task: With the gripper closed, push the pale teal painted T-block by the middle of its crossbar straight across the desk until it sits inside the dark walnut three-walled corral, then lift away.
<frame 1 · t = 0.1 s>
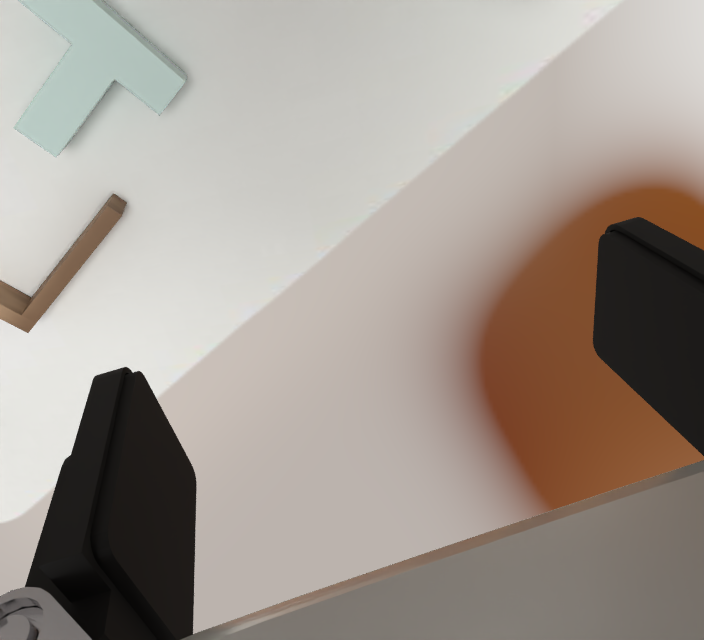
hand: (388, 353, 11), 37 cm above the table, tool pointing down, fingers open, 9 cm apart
tee block: (114, 39, 38), on the table
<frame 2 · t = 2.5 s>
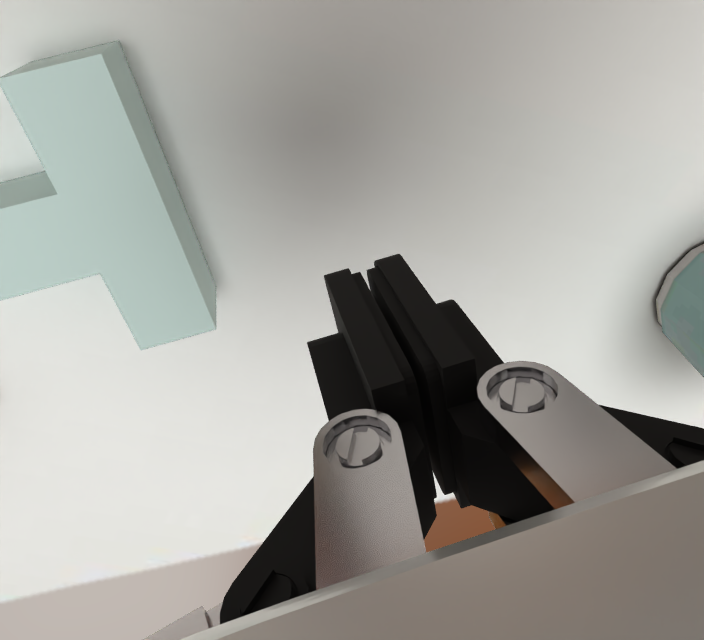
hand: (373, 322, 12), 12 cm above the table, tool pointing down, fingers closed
tee block: (136, 189, 21), on the table
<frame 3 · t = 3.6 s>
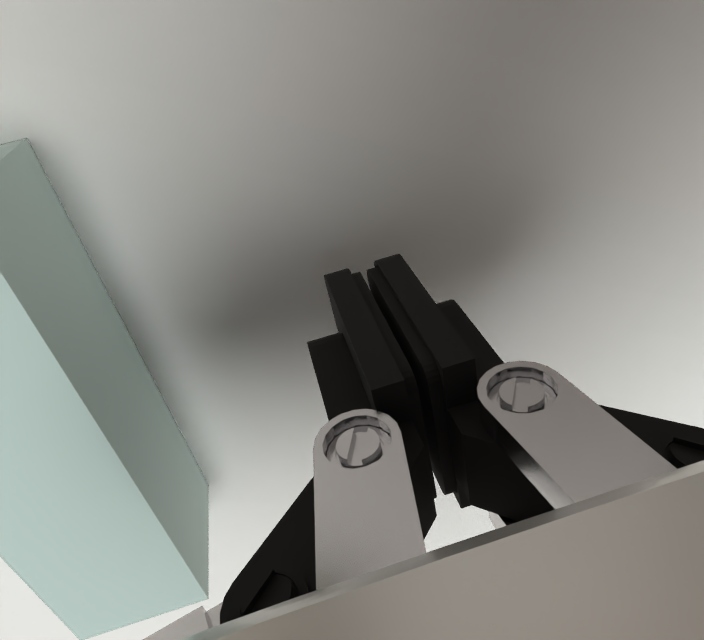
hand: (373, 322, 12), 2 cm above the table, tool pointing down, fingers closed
tee block: (73, 366, 13), on the table
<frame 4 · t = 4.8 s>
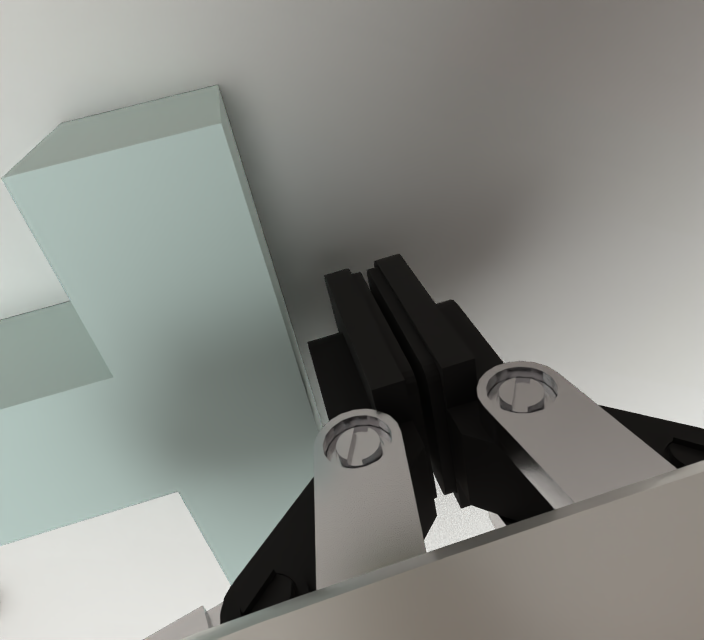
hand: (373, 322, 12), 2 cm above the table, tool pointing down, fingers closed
tee block: (223, 319, 13), on the table, touching gripper
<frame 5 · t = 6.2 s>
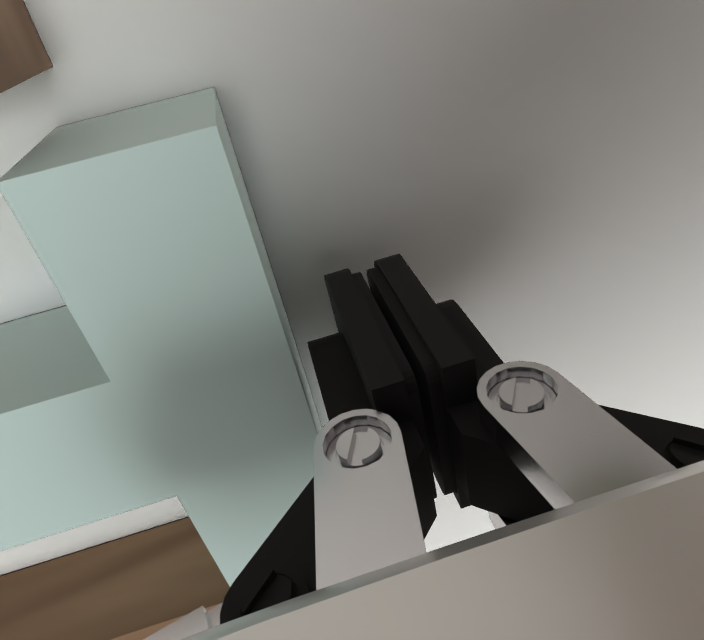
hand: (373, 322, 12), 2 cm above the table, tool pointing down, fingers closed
tee block: (222, 322, 13), on the table, touching gripper
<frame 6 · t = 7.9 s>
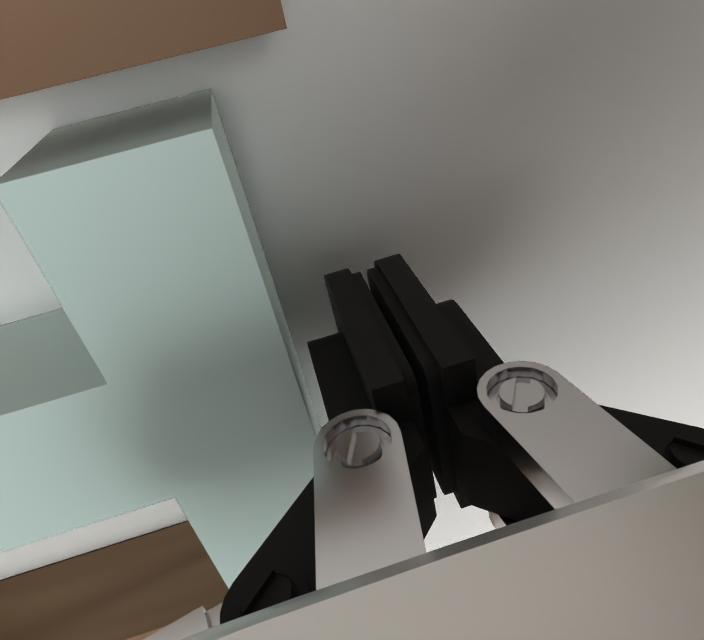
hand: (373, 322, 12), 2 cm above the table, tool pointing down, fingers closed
corral: (90, 366, 13), on the table
tee block: (220, 323, 13), on the table
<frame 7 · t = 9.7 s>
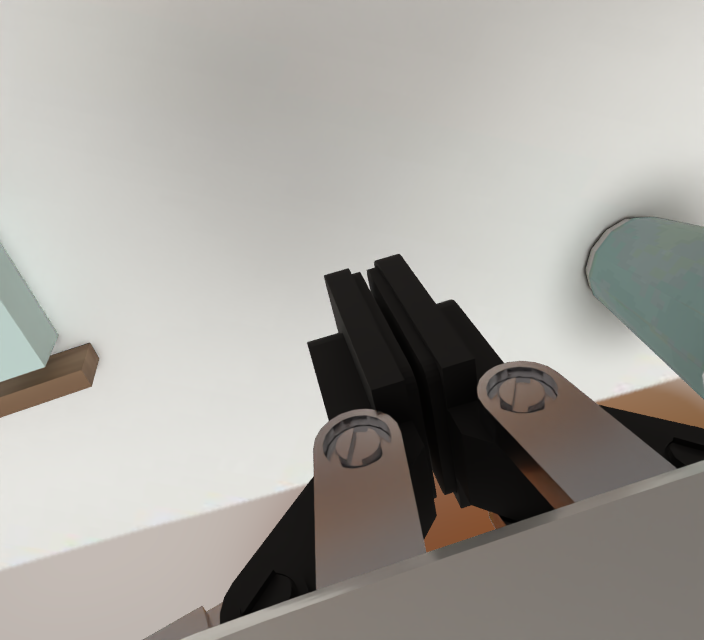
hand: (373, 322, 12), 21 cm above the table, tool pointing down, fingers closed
disposable coffee cup: (624, 255, 40), on the table
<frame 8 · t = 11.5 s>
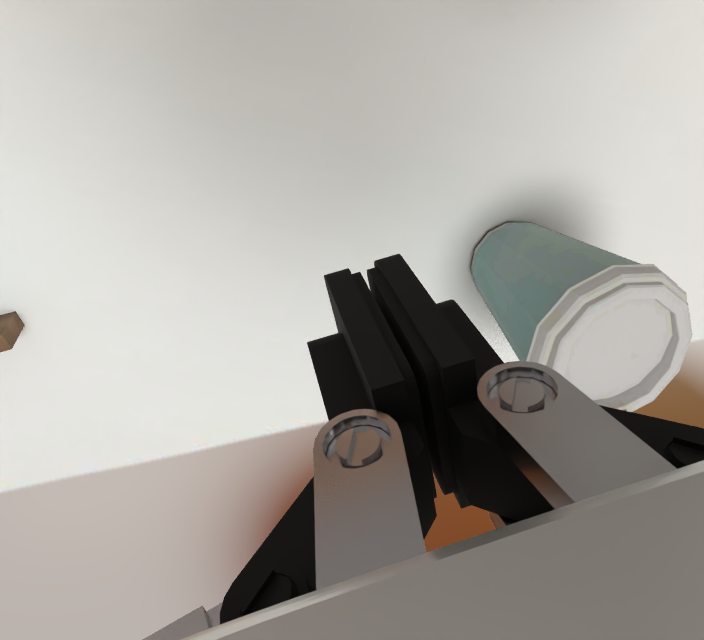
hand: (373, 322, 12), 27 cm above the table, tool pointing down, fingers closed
disposable coffee cup: (508, 255, 45), on the table
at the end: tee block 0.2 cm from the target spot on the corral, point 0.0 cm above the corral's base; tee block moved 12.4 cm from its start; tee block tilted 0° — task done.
